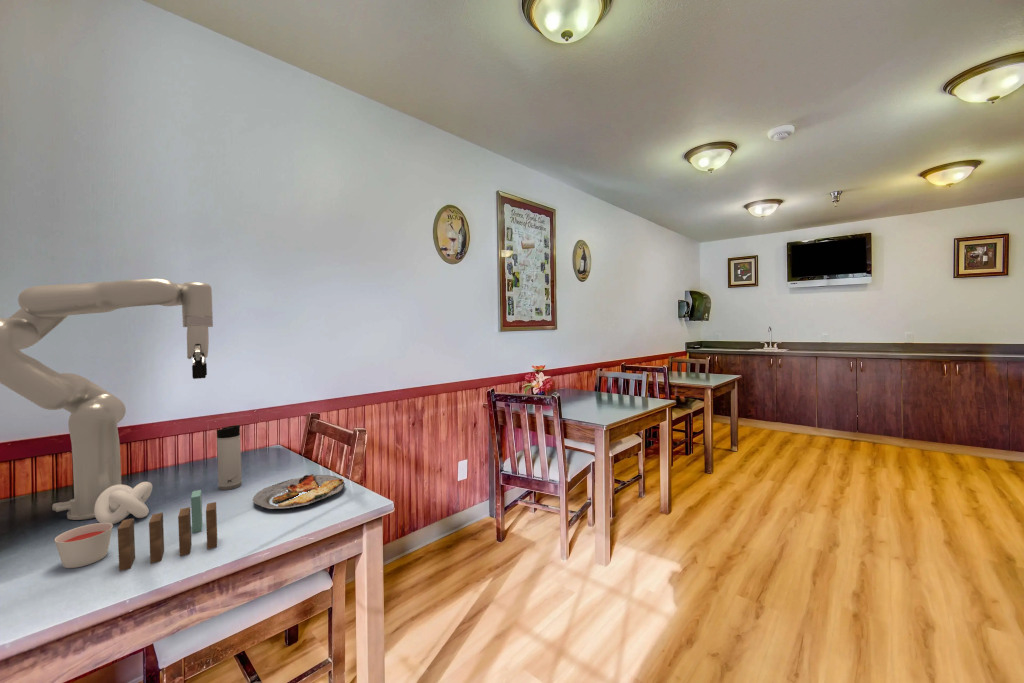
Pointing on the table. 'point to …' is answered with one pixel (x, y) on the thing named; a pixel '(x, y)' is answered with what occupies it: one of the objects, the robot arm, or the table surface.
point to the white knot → (122, 502)
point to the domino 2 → (156, 537)
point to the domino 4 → (196, 511)
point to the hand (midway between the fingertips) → (200, 377)
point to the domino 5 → (211, 525)
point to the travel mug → (229, 457)
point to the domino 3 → (184, 531)
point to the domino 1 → (126, 544)
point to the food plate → (299, 491)
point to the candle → (84, 544)
